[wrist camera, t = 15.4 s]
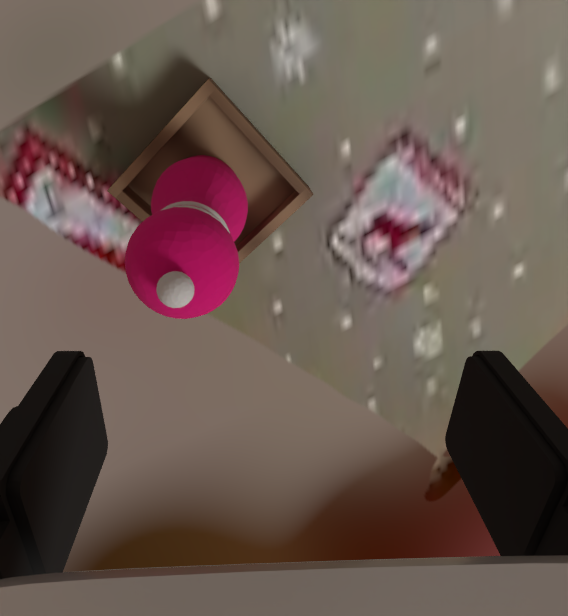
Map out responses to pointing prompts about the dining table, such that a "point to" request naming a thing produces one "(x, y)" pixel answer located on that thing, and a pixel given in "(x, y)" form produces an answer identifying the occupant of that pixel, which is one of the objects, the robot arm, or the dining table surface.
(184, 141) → the walnut tray
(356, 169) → the dining table surface
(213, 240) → the magenta pepper mill
